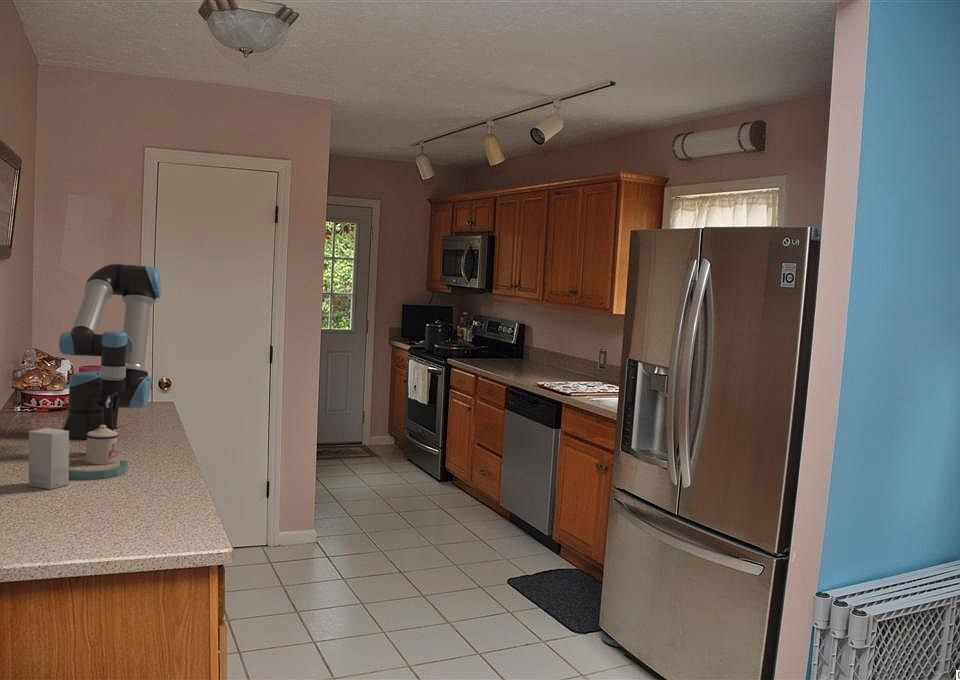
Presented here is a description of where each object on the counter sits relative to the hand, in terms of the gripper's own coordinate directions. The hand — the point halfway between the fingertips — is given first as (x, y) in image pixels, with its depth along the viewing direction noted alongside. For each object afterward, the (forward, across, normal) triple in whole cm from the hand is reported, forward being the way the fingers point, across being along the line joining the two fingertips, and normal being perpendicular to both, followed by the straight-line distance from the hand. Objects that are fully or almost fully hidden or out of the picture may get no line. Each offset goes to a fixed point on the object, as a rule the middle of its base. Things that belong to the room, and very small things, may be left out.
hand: (109, 449), depth 261 cm
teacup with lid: (+2, +10, 0) cm, 10 cm away
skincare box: (+2, +41, -7) cm, 42 cm away
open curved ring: (+2, +26, 0) cm, 26 cm away
